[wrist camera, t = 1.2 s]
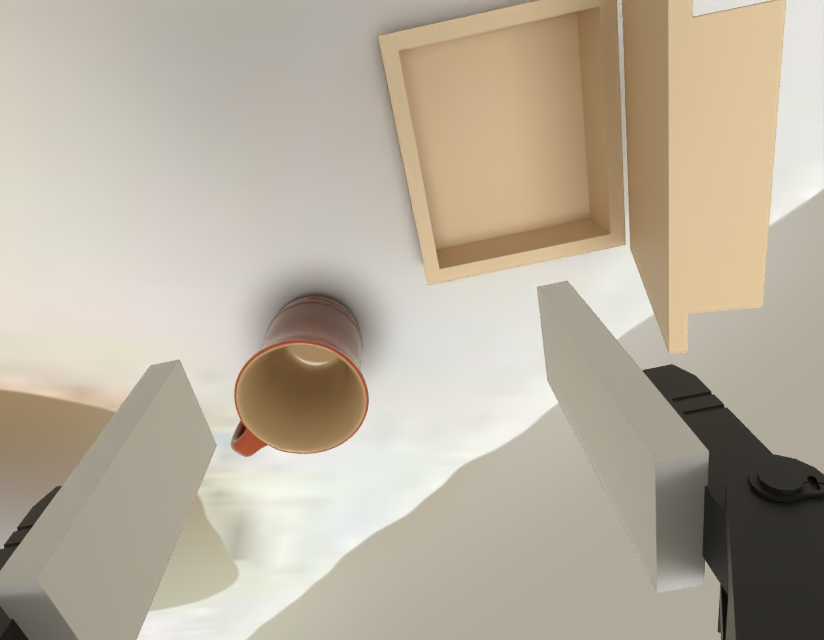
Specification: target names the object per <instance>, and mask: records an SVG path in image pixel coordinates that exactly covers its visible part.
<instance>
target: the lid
mask: <svg viewBox="0 0 824 640" xmlns="http://www.w3.org/2000/svg"><path fill="white" fill-rule="evenodd" d="M785 9H786V0H772V1H767V2H762V3H758V4H753V5H748V6H743V7H738V8H733V9H729V10H724V11H719V12H714V13H709V14H704V15H700V16H695V17H693V0H622V12H623V42H624V73H625V103H626V134H627V164H628V194H629V225H630V249H631V252H632V254H633V257H634V260H635V263H636V265H637V268H638V271H639V273H640V276H641V279H642V282H643V284H644V287H645V290H646V292H647V295H648V298H649V301H650V303H651V306H652V309H653V311H654V314H655V317H656V319H657V322H658V325H659V327H660V330H661V333H662V336H663V339H664V341H665V344H666V347H667V349H668V352H669V354H671V353H687V352H688V313H698V312H711V311H723V310H736V309H749V308H762V307H763V296H764V283H765V269H766V256H767V243H768V231H769V218H770V205H771V192H772V179H773V166H774V153H775V140H776V127H777V114H778V100H779V87H780V74H781V61H782V48H783V35H784V22H785Z"/></svg>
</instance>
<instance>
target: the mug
mask: <svg viewBox="0 0 824 640" xmlns="http://www.w3.org/2000/svg"><path fill="white" fill-rule="evenodd" d="M361 354H362V338H361V333H360V329H359V326H358V324H357V322H356V320H355V318H354V316H353V315H352V314H351V312H350V311H349V310H348V309H347V308H346V307H345V306H343V305H342V304H340V303H339V302H337V301H335V300H333V299H330V298H327V297H322V296H307V297H302V298H299V299H296V300H294V301H292V302H291V303H289V304H288V305H286V306H285V307H284V308H283V309H282V310H281V311H280V313H278V314H277V315H276V316H275V318H274V319H273V320H272V322H271V323H270V325H269V327H268V330H267V333H266V337H265V340H264V342H263V346H262V349H261V350H260V351H259V352H258V353H256V354H255V355H254V356H253V357H251V358H250V359H249V360H248V362H247V363H246V364H245V365H244V367H243V368H242V370H241V371H240V373H239V375H238V378H237V381H236V384H235V394H234V397H235V405H236V409H237V412H238V415H239V417H240V420H241V421H240V422H239V424H238V426H237V428H236V430H235V432H234V435H233V437H232V440H231V447H232V449H233V450H234V451H236V452H237V453H238V454H240V455H242V456H244V457H249V456H252V455H253V454H255V453H256V452H257V451H259V450H260V449H261V448H263V447H265V446H267V445H269V446H271V447H273V448H275V449H277V450H280V451H283V452H289V453H299V454H309V453H318V452H323V451H326V450H330V449H332V448H335V447H337V446H339V445H341V444H342V443H344V442H345V441H347V440H348V439H349V438H351V437H352V436H353V435H354V434H355V433H356V432H357V430H358V429H359V428H360V426H361V425H362V423H363V421H364V419H365V416H366V414H367V410H368V404H369V396H368V389H367V385H366V382H365V380H364V377H363V375H362V374H361V372H360V363H361Z"/></svg>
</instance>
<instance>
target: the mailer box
mask: <svg viewBox="0 0 824 640" xmlns="http://www.w3.org/2000/svg"><path fill="white" fill-rule="evenodd" d="M378 40H379V45H380V50H381V55H382V60H383V65H384V70H385V75H386V80H387V85H388V90H389V95H390V100H391V105H392V110H393V114H394V119H395V124H396V129H397V134H398V139H399V144H400V149H401V154H402V159H403V164H404V169H405V174H406V179H407V184H408V189H409V194H410V199H411V204H412V209H413V214H414V219H415V224H416V229H417V234H418V239H419V244H420V249H421V254H422V259H423V264H424V268H425V273H426V278H427V282H428V285H432V284H437V283H442V282H447V281H452V280H456V279H461V278H466V277H471V276H476V275H481V274H486V273H491V272H495V271H500V270H505V269H510V268H515V267H520V266H525V265H530V264H535V263H539V262H544V261H549V260H554V259H559V258H564V257H569V256H574V255H578V254H583V253H588V252H593V251H598V250H603V249H608V248H613V247H618V246H622V245H626V240H625V213H624V186H623V158H622V131H621V103H620V76H619V48H618V21H617V0H538V1H533V2H529V3H524V4H520V5H515V6H511V7H506V8H502V9H497V10H493V11H488V12H483V13H479V14H474V15H470V16H465V17H461V18H456V19H452V20H447V21H443V22H438V23H434V24H429V25H425V26H420V27H416V28H411V29H407V30H402V31H398V32H393V33H389V34H384V35H380V36H378Z"/></svg>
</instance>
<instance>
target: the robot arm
mask: <svg viewBox="0 0 824 640" xmlns="http://www.w3.org/2000/svg"><path fill="white" fill-rule="evenodd" d="M537 291H538V301H539V310H540V319H541V328H542V337H543V346H544V355H545V364H546V373H547V381H548V383H549V385H550V386H551V388H552V390H553V392H554V394H555V396H556V398H557V400H558V402H559V404H560V406H561V408H562V410H563V412H564V414H565V415H566V418H567V419H568V421H569V423H570V425H571V427H572V429H573V431H574V433H575V435H576V437H577V439H578V441H579V443H580V445H581V447H582V449H583V450H584V453H585V454H586V456H587V458H588V460H589V462H590V464H591V466H592V468H593V470H594V472H595V474H596V476H597V478H598V479H599V482H600V484H601V486H602V487H603V489H604V491H605V493H606V495H607V497H608V499H609V501H610V503H611V505H612V507H613V509H614V511H615V513H616V515H617V516H618V518H619V521H620V522H621V524H622V526H623V528H624V530H625V532H626V534H627V536H628V538H629V540H630V542H631V544H632V545H633V548H634V550H635V551H636V554H637V555H638V557H639V559H640V561H641V563H642V565H643V567H644V569H645V571H646V573H647V575H648V577H649V579H650V581H651V583H652V585H653V587H654V588H655V590H656V592H657V593H661V592H667V591H672V590H678V589H683V588H689V587H694V586H700V585H704V572H705V560H706V562H707V563H708V565H709V567H710V568H711V570H712V571H713V573H714V574H715V576H716V577H717V579H718V580H719V582H720V583H721V584H720V601H719V619H718V632H719V633H721V640H824V475H823V474H822V473H821V472H820V471H818V470H817V469H816V468H815V467H812V466H810V465H808V464H806V463H803V462H801V461H799V460H797V459H793V458H788V457H784V456H779V455H773V454H772V453H771V452H770V451H769V450H768V449H767V448H766V447H765V446H764V445H763V444H762V443H761V442H760V441H759V440H758V439H757V438H756V437H755V436H754V435H753V434H752V433H751V432H750V430H749V429H748V428H746V427H745V425H744V424H743V423H742V422H741V421H740V420H739V419H738V418H737V417H736V416H735V415H734V414H733V413H732V412H731V411H730V410H729V409H728V408H725V407H724V404H723V403H722V402H721V401H720V400H719V399H718V398H717V397H716V396H715V395H712V394H711V391H710V390H709V389H708V388H707V387H706V386H705V385H704V384H703V383H702V382H701V381H700V380H699V379H698V378H697V377H696V376H695V375H693V374H691V373H689V372H687V371H685V370H683V369H681V368H679V367H677V366H675V365H672V364H671V365H666V366H661V367H657V368H651V369H646V370H641V369H640V368H639V366H638V365H637V364H636V363H635V361H634V360H633V359H632V358H631V357H630V355H629V354H628V353H627V352H626V351H625V350H624V348H623V347H622V346H621V345H620V343H619V342H618V341H617V340H616V339H615V337H614V336H613V335H612V334H611V332H610V331H609V330H608V329H607V328H606V326H605V325H604V324H603V323H602V322H601V320H600V319H599V318H598V317H597V316H596V314H595V313H594V312H593V311H592V310H591V308H590V307H589V306H588V305H587V304H586V302H585V301H584V300H583V299H582V298H581V296H580V295H579V294H578V293H577V291H576V290H575V289H574V288H573V287H572V285H571V284H570V283H569V282H568V281H564V282H559V283H554V284H549V285H544V286H539V287H537ZM216 446H217V445H216V442H215V440H214V438H213V436H212V433H211V431H210V429H209V426H208V424H207V422H206V419H205V417H204V415H203V412H202V410H201V408H200V406H199V403H198V401H197V399H196V396H195V394H194V392H193V389H192V387H191V385H190V382H189V380H188V378H187V376H186V373H185V371H184V369H183V366H182V364H181V362H180V360H175V361H170V362H165V363H160V364H155V365H150V367H149V368H148V369H147V371H146V372H145V374H144V375H143V376H142V378H141V379H140V380H139V382H138V383H137V385H136V386H135V387H134V389H133V390H132V391H131V393H130V394H129V395H128V397H127V398H126V400H125V401H124V402H123V404H122V405H121V406H120V408H119V409H118V410H117V412H116V413H115V415H114V416H113V418H112V419H111V420H110V421H109V423H108V424H107V426H106V427H105V428H104V430H103V431H102V432H101V434H100V435H99V437H98V438H97V439H96V441H95V442H94V443H93V445H92V446H91V448H90V449H89V450H88V452H87V453H86V454H85V456H84V457H83V458H82V460H81V461H80V463H79V464H78V465H77V467H76V468H75V469H74V471H73V472H72V473H71V475H70V476H69V477H68V479H67V480H66V482H65V483H64V484H63V486H58V487H56V488H54V489H53V490H52V491H51V492H50V493H49V494H47V495H46V496H45V497H44V498H43V499H42V500H40V501H39V502H38V503H37V504H36V505H35V506H33V507H32V509H31V510H30V511H29V513H28V514H27V515H26V517H25V518H24V519H23V521H22V522H21V523H20V525H19V526H18V527H17V529H18V530H17V531H16V532H13V534H12V535H11V536H10V538H9V539H8V541H7V542H6V543H5V544H4V549H0V640H136V639H137V637H138V635H139V632H140V630H141V627H142V625H143V623H144V620H145V618H146V615H147V613H148V610H149V608H150V606H151V603H152V601H153V598H154V596H155V593H156V591H157V589H158V586H159V584H160V581H161V579H162V576H163V574H164V572H165V569H166V567H167V564H168V562H169V560H170V557H171V555H172V552H173V550H174V547H175V545H176V542H177V540H178V538H179V535H180V533H181V531H182V528H183V526H184V523H185V521H186V519H187V516H188V514H189V511H190V509H191V506H192V504H193V502H194V499H195V497H196V494H197V492H198V489H199V487H200V485H201V482H202V480H203V477H204V475H205V473H206V470H207V468H208V465H209V463H210V460H211V458H212V456H213V453H214V451H215V448H216Z"/></svg>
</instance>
